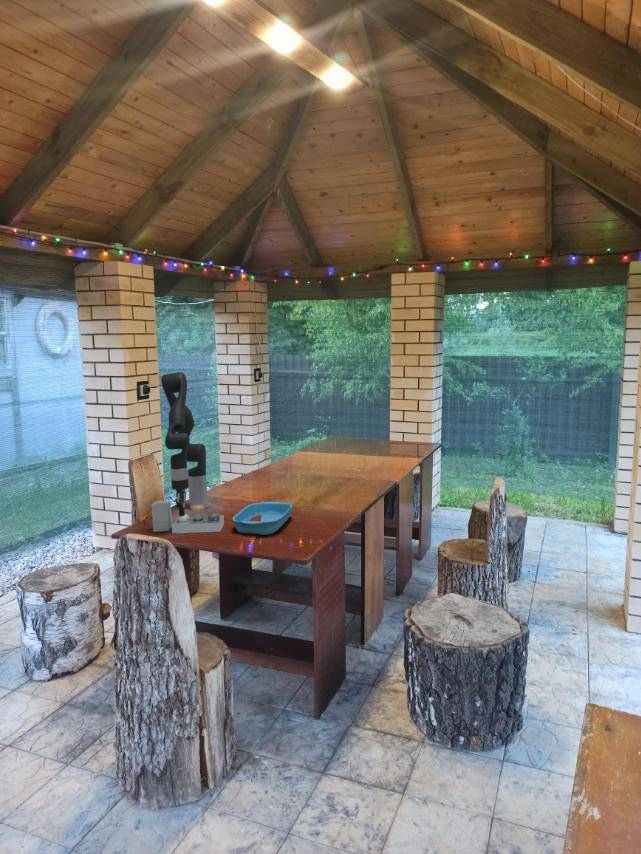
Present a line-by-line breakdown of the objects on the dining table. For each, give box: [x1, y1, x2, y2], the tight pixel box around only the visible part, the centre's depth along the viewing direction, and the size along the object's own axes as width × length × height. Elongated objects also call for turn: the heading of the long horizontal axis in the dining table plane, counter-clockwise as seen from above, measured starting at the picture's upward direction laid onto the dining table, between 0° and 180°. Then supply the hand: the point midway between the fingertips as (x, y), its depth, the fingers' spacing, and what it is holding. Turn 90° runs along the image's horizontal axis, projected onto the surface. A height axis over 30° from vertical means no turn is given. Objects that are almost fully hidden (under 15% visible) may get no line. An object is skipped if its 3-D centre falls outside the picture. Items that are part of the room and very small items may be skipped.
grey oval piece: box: [175, 513, 189, 522], centre depth 263 cm, size 5×5×7 cm
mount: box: [171, 514, 225, 534], centre depth 264 cm, size 12×21×5 cm, turn 91°
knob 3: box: [207, 512, 221, 520], centre depth 264 cm, size 5×5×7 cm
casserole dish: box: [232, 501, 293, 536], centre depth 268 cm, size 37×22×7 cm, turn 169°
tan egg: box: [191, 505, 205, 521], centre depth 263 cm, size 5×5×7 cm
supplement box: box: [150, 499, 173, 533], centre depth 267 cm, size 7×7×13 cm
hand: (182, 515), depth 263 cm, fingers closed
